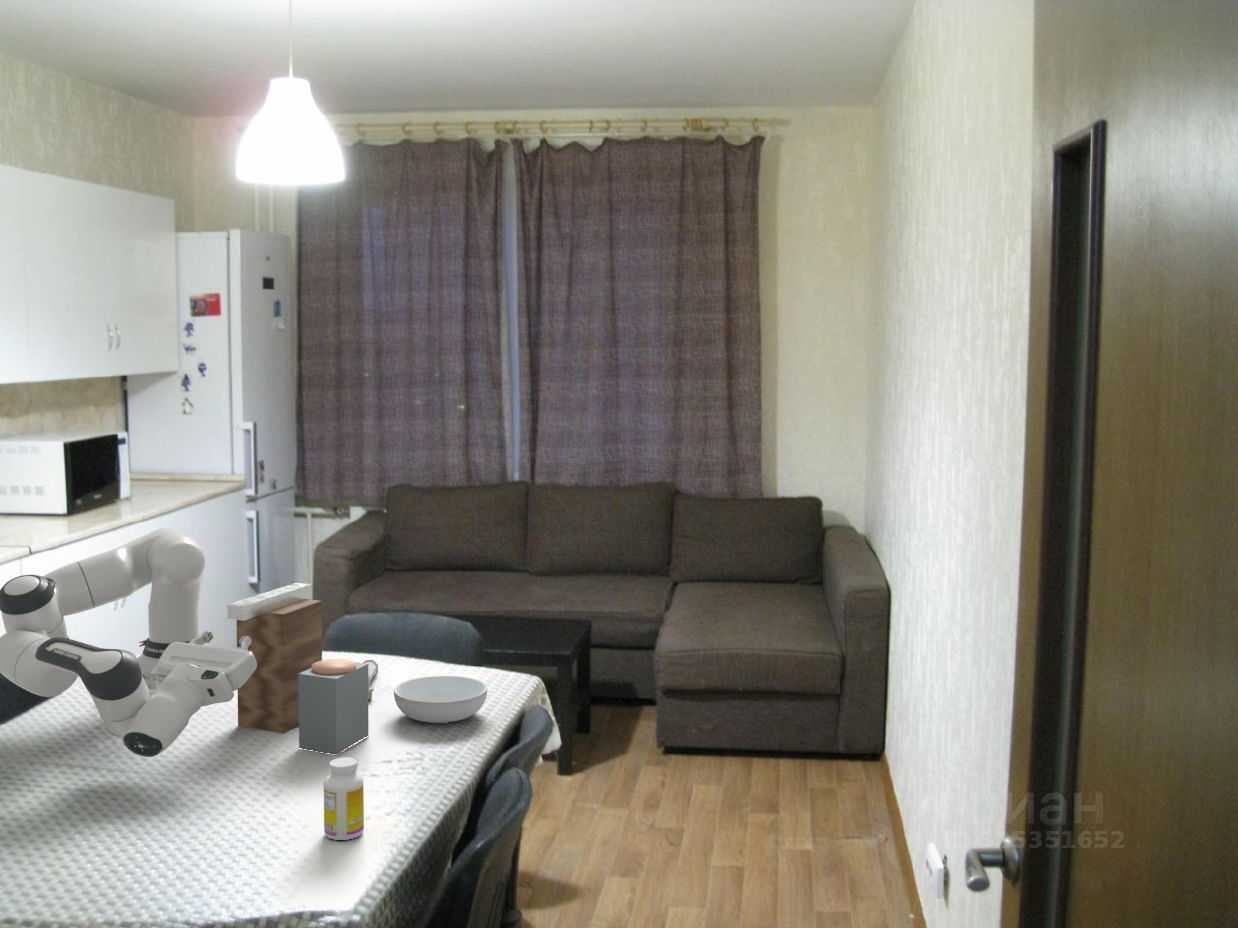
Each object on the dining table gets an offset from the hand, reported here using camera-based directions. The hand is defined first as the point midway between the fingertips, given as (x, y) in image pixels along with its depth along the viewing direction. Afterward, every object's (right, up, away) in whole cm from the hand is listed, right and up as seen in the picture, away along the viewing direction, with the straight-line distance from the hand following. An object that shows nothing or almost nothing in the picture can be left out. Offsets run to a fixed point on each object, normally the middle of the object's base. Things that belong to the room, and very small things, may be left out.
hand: (228, 635), depth 244 cm
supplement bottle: (+33, -29, -39) cm, 58 cm away
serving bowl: (+40, -22, +24) cm, 51 cm away
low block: (+20, -23, +6) cm, 31 cm away
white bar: (+5, +4, +14) cm, 15 cm away
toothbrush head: (+19, -19, +45) cm, 52 cm away
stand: (+5, -21, +20) cm, 29 cm away
